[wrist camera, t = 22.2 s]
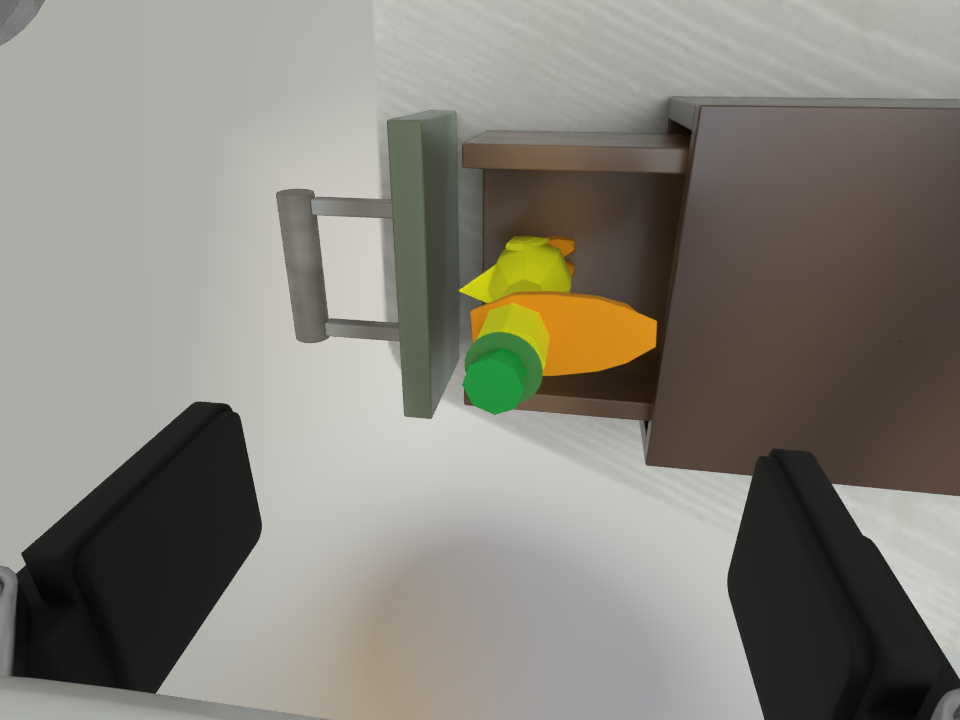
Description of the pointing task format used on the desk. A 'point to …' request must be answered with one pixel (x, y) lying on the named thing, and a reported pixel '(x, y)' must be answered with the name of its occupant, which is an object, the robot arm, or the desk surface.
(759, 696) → the robot arm
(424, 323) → the drawer
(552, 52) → the desk surface
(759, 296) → the cabinet
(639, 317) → the toy figure
